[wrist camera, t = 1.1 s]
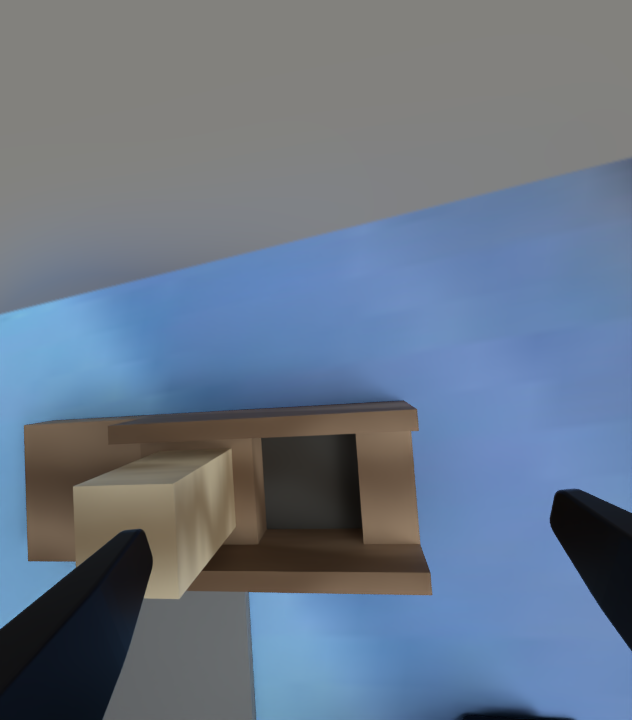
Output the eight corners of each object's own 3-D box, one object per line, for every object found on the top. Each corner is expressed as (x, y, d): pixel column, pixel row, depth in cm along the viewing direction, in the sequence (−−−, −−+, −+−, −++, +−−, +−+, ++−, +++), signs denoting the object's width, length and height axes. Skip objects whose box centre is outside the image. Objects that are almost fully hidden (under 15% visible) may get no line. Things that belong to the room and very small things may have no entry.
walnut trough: (415, 543, 19) (432, 595, 15) (57, 544, 22) (-18, 587, 18) (403, 400, 20) (417, 409, 15) (52, 420, 23) (-22, 432, 18)
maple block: (236, 526, 19) (179, 599, 13) (163, 527, 19) (77, 597, 13) (231, 448, 19) (173, 483, 13) (159, 451, 20) (72, 486, 14)
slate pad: (258, 753, 20) (255, 765, 20) (97, 740, 22) (90, 750, 21) (247, 571, 21) (243, 578, 20) (91, 570, 22) (83, 576, 21)
